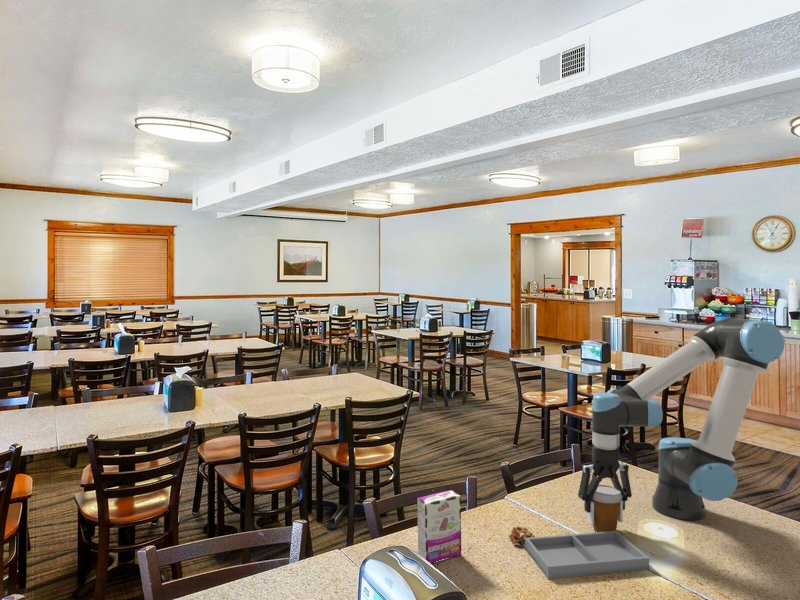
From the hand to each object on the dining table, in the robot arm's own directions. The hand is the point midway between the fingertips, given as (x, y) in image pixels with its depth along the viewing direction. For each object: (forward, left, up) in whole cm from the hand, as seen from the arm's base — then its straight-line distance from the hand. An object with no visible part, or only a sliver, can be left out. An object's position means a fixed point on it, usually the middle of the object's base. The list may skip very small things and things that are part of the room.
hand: (604, 521), depth 152 cm
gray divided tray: (+14, +14, -3) cm, 20 cm away
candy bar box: (+52, +7, -3) cm, 53 cm away
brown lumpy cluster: (+26, 0, -3) cm, 27 cm away
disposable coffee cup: (0, 0, -3) cm, 3 cm away
